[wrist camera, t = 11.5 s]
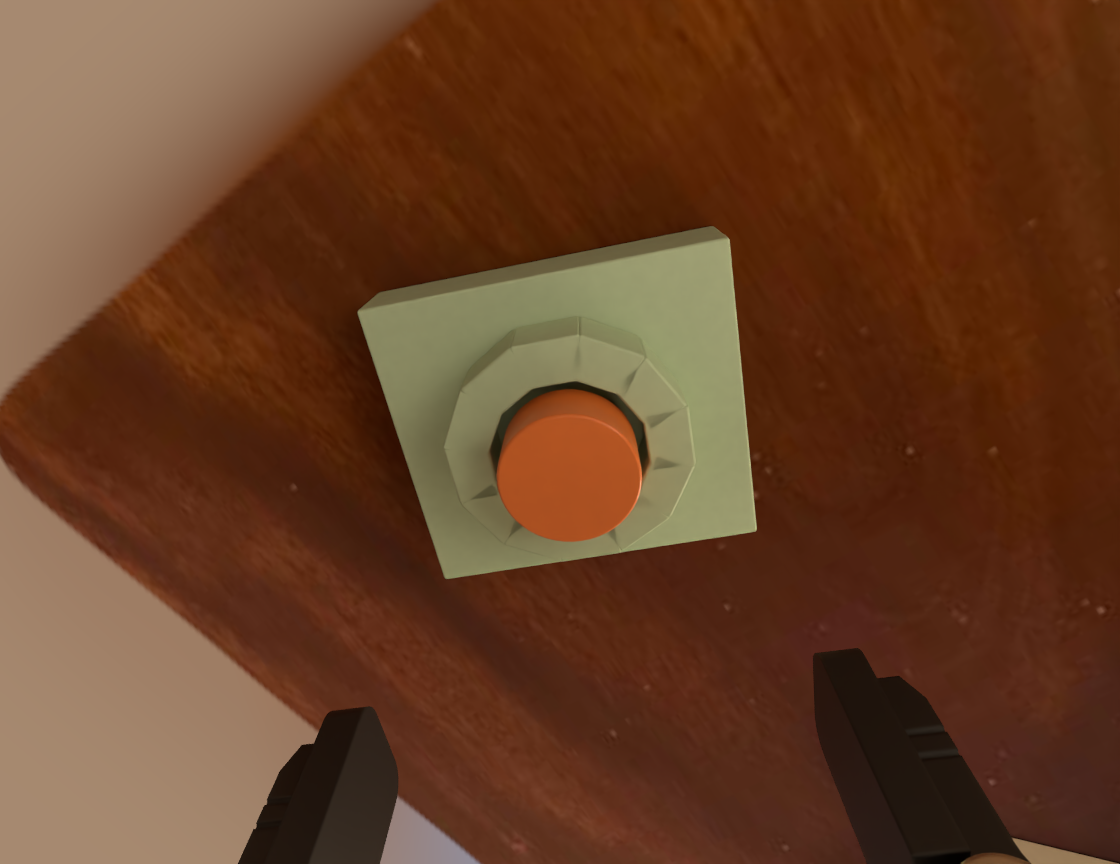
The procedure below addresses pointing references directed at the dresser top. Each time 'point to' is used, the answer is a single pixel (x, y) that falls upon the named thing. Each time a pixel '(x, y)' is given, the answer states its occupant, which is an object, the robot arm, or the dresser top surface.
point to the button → (569, 466)
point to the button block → (571, 363)
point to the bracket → (1054, 855)
